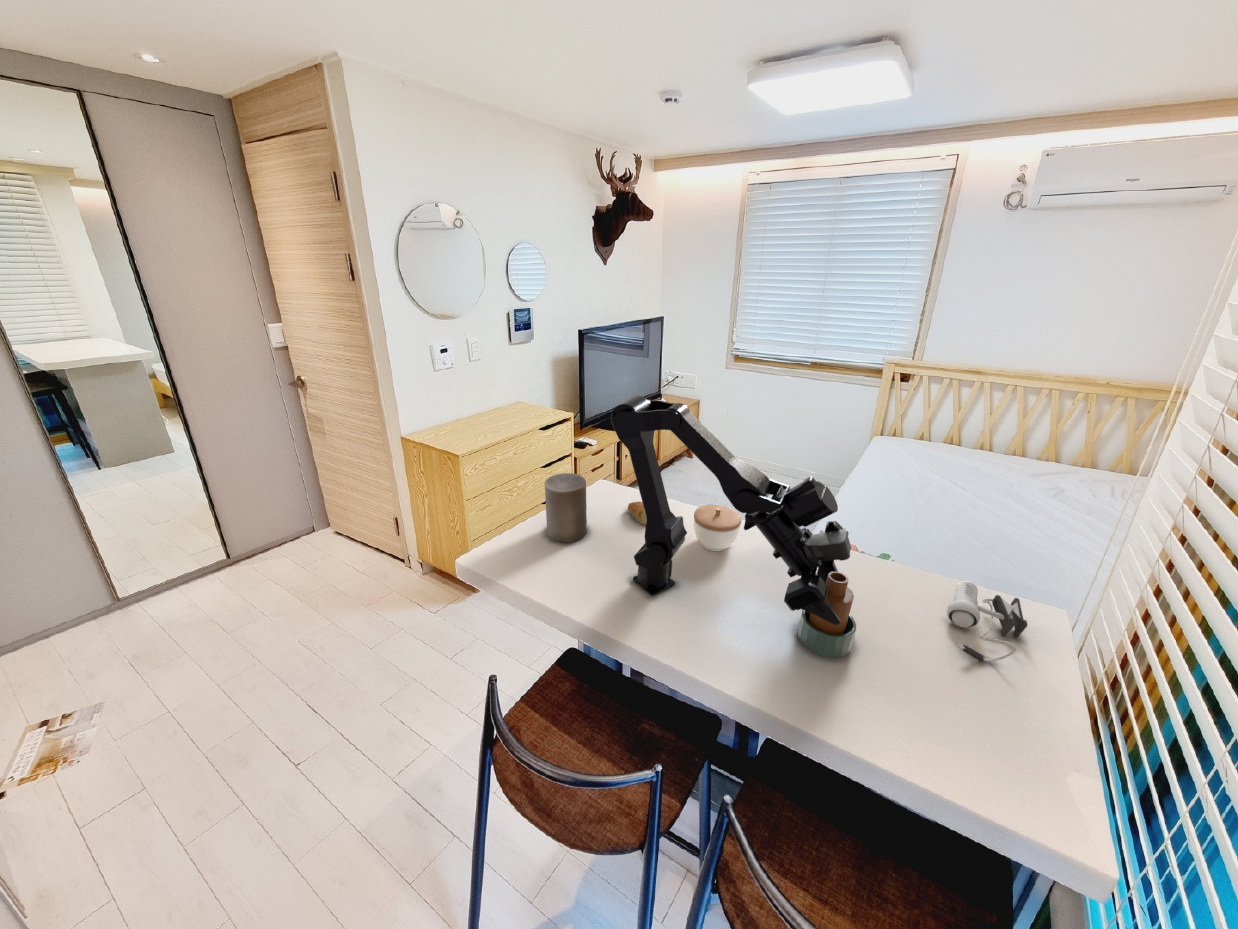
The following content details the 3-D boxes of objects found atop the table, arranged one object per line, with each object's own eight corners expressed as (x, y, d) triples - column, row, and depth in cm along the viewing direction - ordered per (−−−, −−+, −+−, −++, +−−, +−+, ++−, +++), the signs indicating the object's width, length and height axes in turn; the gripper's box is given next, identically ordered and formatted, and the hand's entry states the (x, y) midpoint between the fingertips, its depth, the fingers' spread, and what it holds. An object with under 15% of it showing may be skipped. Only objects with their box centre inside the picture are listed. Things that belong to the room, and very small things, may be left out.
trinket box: (696, 528, 124) (699, 494, 120) (740, 537, 121) (745, 502, 117) (687, 551, 115) (690, 515, 111) (734, 561, 112) (739, 525, 108)
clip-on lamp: (1013, 689, 85) (1016, 612, 97) (1032, 669, 81) (1032, 591, 93) (936, 655, 90) (947, 586, 102) (949, 634, 86) (960, 565, 98)
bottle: (816, 650, 87) (831, 589, 82) (800, 625, 93) (813, 567, 87) (848, 646, 88) (864, 587, 83) (830, 623, 94) (844, 565, 88)
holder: (831, 666, 85) (837, 645, 83) (787, 634, 92) (791, 614, 90) (861, 643, 90) (866, 623, 88) (816, 614, 96) (820, 595, 95)
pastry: (621, 512, 131) (621, 499, 129) (640, 505, 135) (640, 492, 133) (645, 527, 124) (646, 514, 123) (665, 519, 128) (666, 506, 127)
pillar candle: (595, 531, 122) (595, 476, 116) (565, 548, 115) (564, 490, 109) (567, 517, 128) (566, 464, 122) (538, 532, 121) (535, 476, 115)
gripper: (819, 543, 74) (883, 626, 75) (832, 492, 90) (886, 561, 90) (758, 571, 81) (818, 647, 81) (780, 519, 96) (830, 583, 96)
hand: (840, 607), depth 87 cm, fingers open, 9 cm apart
